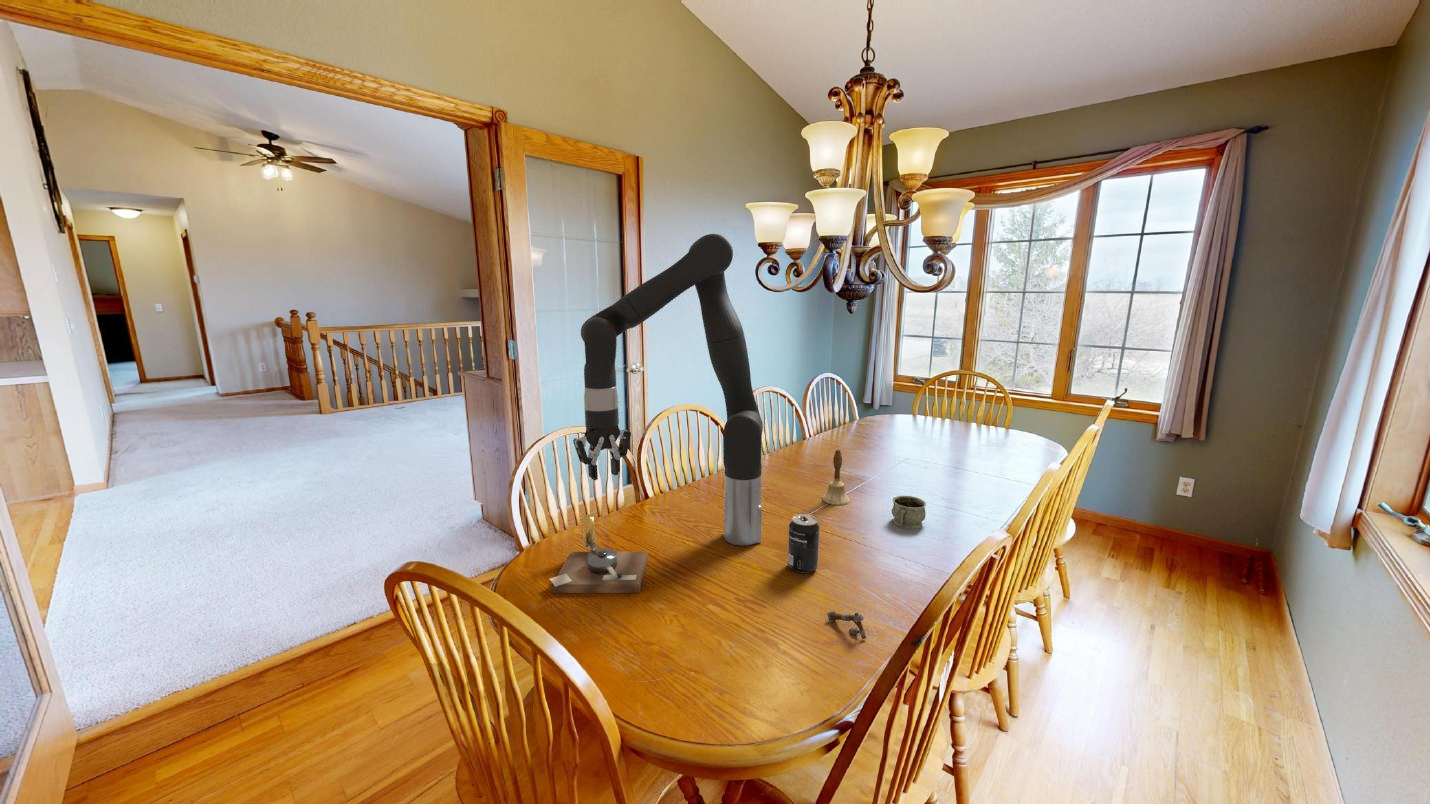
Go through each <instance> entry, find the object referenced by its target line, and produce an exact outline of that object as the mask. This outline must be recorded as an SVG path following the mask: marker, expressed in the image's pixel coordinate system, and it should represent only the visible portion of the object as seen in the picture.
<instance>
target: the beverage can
mask: <svg viewBox="0 0 1430 804" xmlns="http://www.w3.org/2000/svg"><path fill="white" fill-rule="evenodd" d="M791 519H792V520H790V522H789V524H788V542H787V543H788V545H787V565H788V567H789V568H790V569H791V570H793V571H794V572H797V573H799V574H809V573H811V572H814V571H815V570H817V568H818V567H819V552H820V551H819V549H820V533H821V532H820V530H821V529H820V528H821V527H820V524H819V523H818V519H817V517H815V516H814V515H812V514H807V513H806V514H805V513H799V514H798V513H797V514H795V515H793V516H792V517H791Z"/></svg>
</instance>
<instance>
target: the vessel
mask: <svg viewBox="0 0 1430 804" xmlns="http://www.w3.org/2000/svg"><path fill="white" fill-rule="evenodd" d="M892 502H893V503H892V504H893V506H892V509H891V514H892V516H893V517H894V518H893V520H892V521H893V523H894V524H895V525H897V526H899V527H900V528H904V529H920V528H923V525H924V524H923V521H925V519H926V515H927V513H926V506H927V502H926V501H925V500H923V499H922V498H920V497H917V496H912V495H897V496H894V497H893V498H892Z"/></svg>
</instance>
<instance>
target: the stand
mask: <svg viewBox="0 0 1430 804" xmlns="http://www.w3.org/2000/svg"><path fill="white" fill-rule="evenodd" d="M590 552H591V551H570V552H569V553H568V556H567V558H566V560H565V561H564V563H563V565H562V567H561V568H560V570H559V572H558V574H557V576H554V577H551V578H549V580H550V581H551V583H552V589H553V590H552V591H553V594H585V593H586V594H627V593H628V594H630V593H631V594H639V593H640V592H641V587H642V583H643V579H644V575H645V571H646V568H647V563H648V551H616V552H617V567H616V568H615V569H614V571H615V572H616V576H613V577H612V576H611V575H610V574H609V572H605V573H595V572H592V571H590V570H589V569H588V558H587V556H588V554H589V553H590Z"/></svg>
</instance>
